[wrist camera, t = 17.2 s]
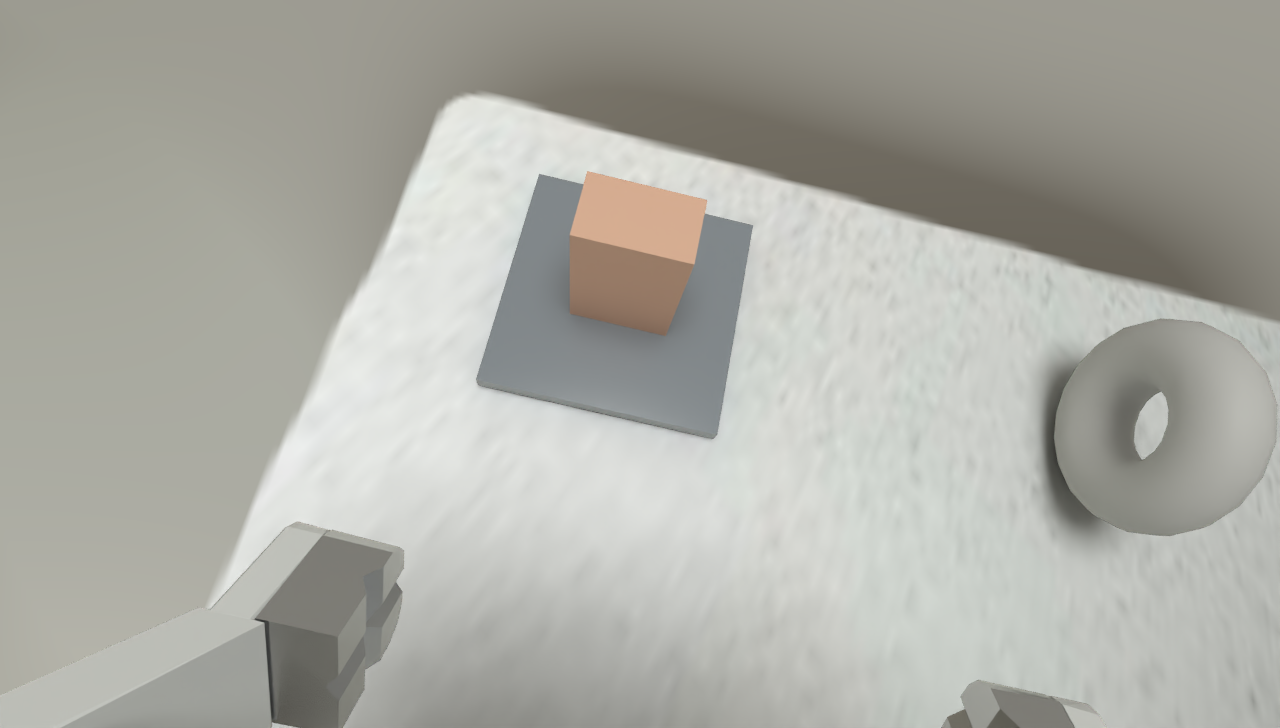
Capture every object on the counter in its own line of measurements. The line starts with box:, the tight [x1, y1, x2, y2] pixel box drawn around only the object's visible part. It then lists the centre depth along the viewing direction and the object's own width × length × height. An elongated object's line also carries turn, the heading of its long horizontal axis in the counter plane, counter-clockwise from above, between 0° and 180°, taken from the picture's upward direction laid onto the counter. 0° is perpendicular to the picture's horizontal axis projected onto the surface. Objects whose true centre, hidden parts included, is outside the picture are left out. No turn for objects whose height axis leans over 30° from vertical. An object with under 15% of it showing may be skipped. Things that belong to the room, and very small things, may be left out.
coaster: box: [476, 174, 753, 439], centre depth 34 cm, size 12×12×1 cm
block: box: [570, 171, 707, 336], centre depth 29 cm, size 5×3×8 cm, turn 78°
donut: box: [1054, 319, 1277, 536], centre depth 29 cm, size 10×4×10 cm, turn 169°
